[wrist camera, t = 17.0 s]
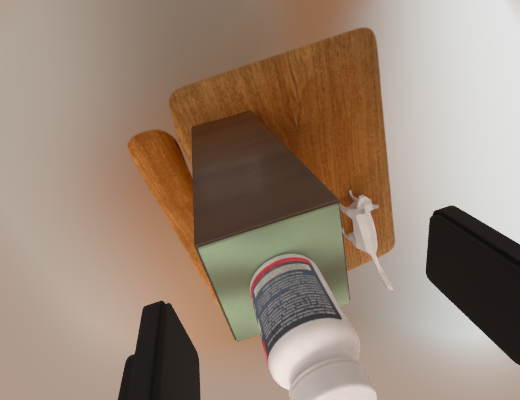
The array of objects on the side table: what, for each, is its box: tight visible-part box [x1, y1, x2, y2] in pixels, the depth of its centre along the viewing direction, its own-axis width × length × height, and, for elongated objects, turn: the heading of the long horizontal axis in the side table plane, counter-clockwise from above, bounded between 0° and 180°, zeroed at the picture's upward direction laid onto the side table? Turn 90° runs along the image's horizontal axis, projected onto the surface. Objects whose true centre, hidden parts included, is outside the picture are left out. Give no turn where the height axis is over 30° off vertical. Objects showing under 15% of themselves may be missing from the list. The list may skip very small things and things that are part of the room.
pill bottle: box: [250, 254, 377, 400], centre depth 17 cm, size 5×5×9 cm
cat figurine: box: [339, 190, 393, 291], centre depth 56 cm, size 4×20×14 cm, turn 20°
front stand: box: [192, 111, 350, 342], centre depth 36 cm, size 10×10×33 cm
